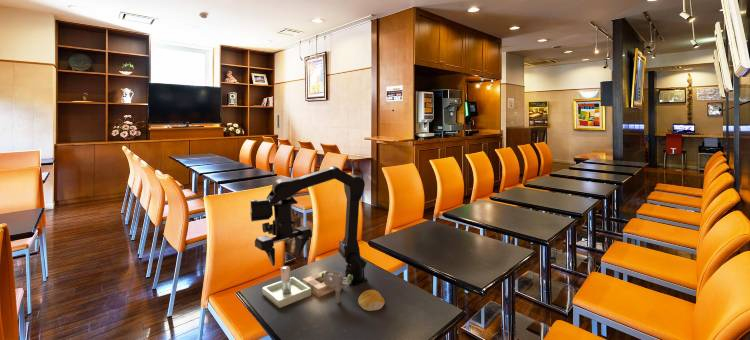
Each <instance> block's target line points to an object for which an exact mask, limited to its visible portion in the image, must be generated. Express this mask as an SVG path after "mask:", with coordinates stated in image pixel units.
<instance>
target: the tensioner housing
mask: <svg viewBox="0 0 750 340" xmlns="http://www.w3.org/2000/svg"><path fill="white" fill-rule="evenodd" d="M326 271H327V270H324V271H321V272H317V273H316V274H313V275H311V276H308V277H304V278H302V283H304V284H305V285H307V286H308V287H310V288H311V294H313V295H314V296H316V297H318V298H320V297H322V296H325V295H328V294H329V293H333V292H335V290H334V286H327V285H325V283H324V279H323V278H322V273H325V272H326ZM330 278H331V277H330ZM331 279H332V278H331ZM341 288H342V289H343V287H341Z"/></svg>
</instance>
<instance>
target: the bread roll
mask: <svg viewBox="0 0 750 340" xmlns="http://www.w3.org/2000/svg"><path fill="white" fill-rule="evenodd" d="M357 300H358V301H357V303H358V305H359V306H360V308H361V309H363V311H369V312H370V311H373V312H374V311H378V310H380V309H382V308H383V307H384V305H385V298H384V297H383V296H382V294H381V293H380V292H379V291H378V290H376V289H368V290H367V289H366V290H364V291H363V292H361V294H360V295H359V297H358V299H357Z"/></svg>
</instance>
